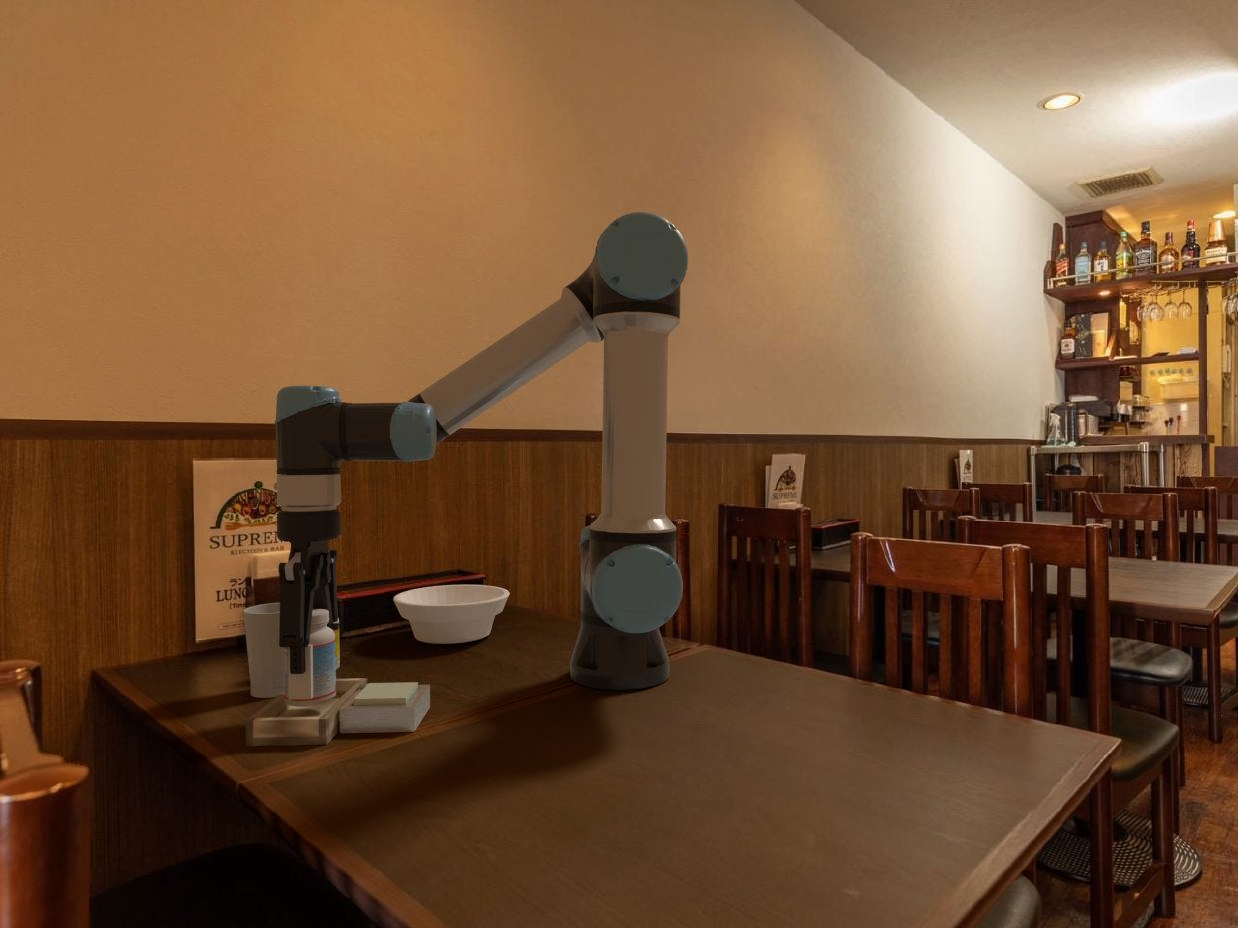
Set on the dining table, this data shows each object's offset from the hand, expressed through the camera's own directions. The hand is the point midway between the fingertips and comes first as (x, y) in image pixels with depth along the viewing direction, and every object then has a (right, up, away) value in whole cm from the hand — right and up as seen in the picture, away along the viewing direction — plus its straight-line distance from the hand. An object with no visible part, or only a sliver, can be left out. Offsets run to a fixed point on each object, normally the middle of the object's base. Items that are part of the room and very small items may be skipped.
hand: (311, 689), depth 95 cm
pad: (+10, -1, 0) cm, 10 cm away
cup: (-10, -4, +13) cm, 17 cm away
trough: (0, -4, 0) cm, 4 cm away
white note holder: (+10, -4, 0) cm, 10 cm away
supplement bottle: (-8, -4, +23) cm, 24 cm away
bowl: (+8, -4, +43) cm, 44 cm away
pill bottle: (0, -2, 0) cm, 2 cm away
